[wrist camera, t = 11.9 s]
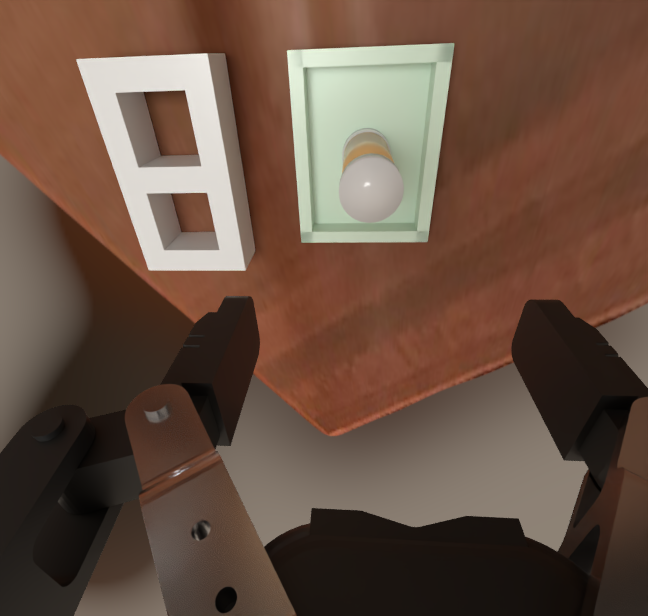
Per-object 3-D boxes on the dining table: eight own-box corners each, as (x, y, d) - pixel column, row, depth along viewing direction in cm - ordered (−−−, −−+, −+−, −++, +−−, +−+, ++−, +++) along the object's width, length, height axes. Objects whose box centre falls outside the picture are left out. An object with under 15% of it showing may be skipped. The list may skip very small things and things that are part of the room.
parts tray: (292, 50, 27) (286, 50, 25) (446, 43, 26) (454, 43, 24) (304, 231, 35) (301, 242, 33) (423, 230, 34) (427, 242, 32)
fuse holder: (108, 58, 28) (75, 59, 25) (225, 53, 27) (207, 53, 24) (167, 250, 37) (149, 270, 34) (255, 250, 36) (245, 270, 33)
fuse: (342, 128, 29) (338, 159, 21) (391, 127, 29) (406, 157, 20) (342, 177, 31) (339, 223, 23) (387, 176, 31) (400, 222, 23)
